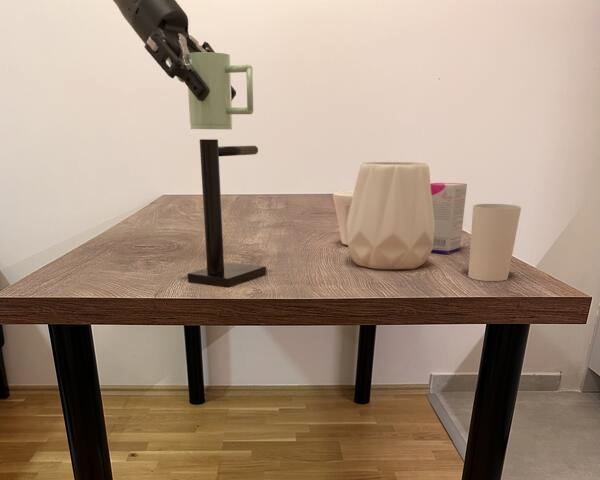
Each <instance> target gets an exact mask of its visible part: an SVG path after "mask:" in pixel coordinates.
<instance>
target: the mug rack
mask: <svg viewBox="0 0 600 480" xmlns="http://www.w3.org/2000/svg"><path fill="white" fill-rule="evenodd" d="M258 152H259V148H258V146H257V145H230V146H229V145H228V146H224V145H223V146H219V139H217V138H216V139H214V138H213V139H212V138H208V139H207V138H200V139H199V153H200V154H199V155H200V157H199V158H200V171H201V187H202V190H201V191H202V203H203V204H202V206H203V220H204V221H203V223H204V240H205V241H204V243H205V257H206V268H203V269H199V270H195V271H192V272H188V273H187V282H188V283H194V284H201V285H209V286H214V287H215V286H216V287H224V288H231V287H234V286H236V285H240V284H243V283H246V282H248V281H250V280H254V279H257V278H259V277H262V276H265V275H266V274H267V266H265V265H258V264H257V265H255V264H247V263H237V262H231V261H230V262H229V261H227V262H225V260H224V259H225V258H224V239H223V238H224V236H223V235H224V234H223V217H222V195H221V193H222V191H221V175H220V174H221V173H220V157H235V156H252V155H253V156H254V155H257V154H258Z"/></svg>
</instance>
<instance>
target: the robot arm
mask: <svg viewBox="0 0 600 480" xmlns="http://www.w3.org/2000/svg"><path fill="white" fill-rule="evenodd" d="M112 1H113V2H114V4H115V6H116V7H117V8H118V10H119V12H120V13H121V15H122V17H123V18H124V20H125V21H126V22H127V23H128V24H129V26H130V27H131V28H132V30H133V31H134V32H135V34H136V35H137V36H138V38H140V40H141V41H142V42H143V44H144V49H145V50H146V52H148V54H149V55H150V56H151V58H153V60H154V61H155V62H156V63H157V64H158V66H160V68H161V69H162V70H163V71H164V72H165V74H166V75H167V76H168V77H169V78H171V79H175V77H176V78H177V80H178V81H179V82H181V83H184V84H185V85H186V87H187V89H188V88H189V89H190V90H191V92H192V93H193V94H194V95H195V97H196V98H197V99H198V100H199V101H204V100H205V99H206V97H207V96H208V94H209V92H210V89H209V88H208V86H207V85H206V84H205V82H204V81H203V80H202V79H201V77H200V76H199V75H198V74H197V72H196V71H194V70H192V69H193V68H192V65H191V63H190V61H189V55H188V53H195V52H213V53H216V52H215V50H214V48H212V46H211V45H210V43H209V42H207V41H203V43H202V44H201V45H200V43H199V41H198V40H197V39H196V38H195V37H194V36H192V35H191V34H189V18H188V15H187V13H186V12H185V11H184V9H183V8H182V7H181V5H180V4H179V3H178V1H177V0H112ZM167 62H168V63H167ZM191 70H192V71H191ZM236 96H237V91H236V89H235V88H234V87H233V86H232V85H231V100H232V101H233V100H234V99H235V97H236Z"/></svg>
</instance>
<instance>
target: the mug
mask: <svg viewBox="0 0 600 480" xmlns="http://www.w3.org/2000/svg"><path fill="white" fill-rule="evenodd" d="M188 55H189V61H190V63H191V65H192V68H193V69H192V70H194V71H196V72H197V74H198V75H199V76H200V77H201V79H202V80H203V81H204V82H205V84H206V85H207V86H208V88H209V89H210V92H209V94H208V96H207V97H206V99H205V100H204V101H199V100H198V99H197V98H196V97H195V95H194V94H193V93H192V92H191V90H190V89H189V88H188V87H187V97H188V111H189V112H188V113H189V114H188V115H189V125H190V130H233V115H252V114H253V113H254V80H253V79H254V77H253V74H254V73H253V71H254V70H253V66H252V65H251V64H238V65H231V55H230V54H228V53H225V52H224V53H223V52H215V53H213V52H195V53H188ZM192 70H191V71H192ZM236 73H245V74H246V75H245V77H246V106H247V107H233V106H232V105H233V104H232V103H233V102H232V101H233V100H231V86H232V77H231V75H232V74H236Z"/></svg>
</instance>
